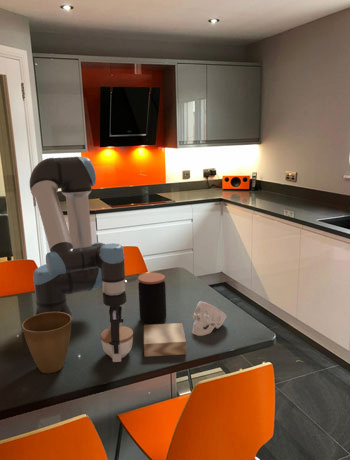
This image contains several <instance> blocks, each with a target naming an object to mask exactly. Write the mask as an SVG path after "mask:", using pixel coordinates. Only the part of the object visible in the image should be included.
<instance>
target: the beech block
mask: <svg viewBox="0 0 350 460" xmlns="http://www.w3.org/2000/svg"><path fill="white" fill-rule="evenodd" d="M143 353H144V357H147V358H148V357H160V356H161V357H162V356H178V355H179V356H180V355H187V340H186V335H185V330H184V326H183V323H182V322H177V323H176V322H175V323H160V324H155V325H148V324H144V325H143Z"/></svg>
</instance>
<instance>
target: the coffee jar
mask: <svg viewBox="0 0 350 460" xmlns="http://www.w3.org/2000/svg"><path fill="white" fill-rule="evenodd" d="M137 280H138V283H137V284H138V285H137V286H138V305H139V306H138V307H139V319H140V321H141V322H142V323H143V324H144V325H155V324H163V323H164V322H165V320H166V319H167V293H166V291H167V290H166V282H165V280H166V276H165V275H164V274H162V273H159V272H148V273H143V274H141V275H139V276H138V278H137Z"/></svg>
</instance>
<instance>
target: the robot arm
mask: <svg viewBox="0 0 350 460" xmlns="http://www.w3.org/2000/svg"><path fill="white" fill-rule="evenodd" d="M30 174H31V175H30V176H29V189H30V193H31V195H32V196H33V197H34V198H35V201H36V204H37V208H38V211H39V212H38V213H39V217H40V219H41V222H42V226H43V230H44V233H45V234H44V235H45V237H46V241H47V244H48V248H49V252H47V253H46V254H45V264H42V265H41V266H39V267H37V268H36V269H35V270H34V272H33V286H34V287H33V288H34V296H35V310H34V315H37V314H41V313H46V312H63V313H67V314H69V315H70V316H71V317H72V321H73V319H74V318H73V317H74V316H73V312H72V310H71V307H70V306H69V303H68V301H67V296H68V295H72V294H73V295H74V294H78V293H83V292H87V291H88V292H89V291H92V290H96V289H98V288H100V287H101V290H102V300H103V301H102V302H103V304H104V305H105V306H107V307H109V309H108V313H109V322H110V327H111V342H109V345H112V358H111V359H112V363H118V362H119V363H120V362H122V358H121V346H120V333H119V326H123V325H122V324H123V323H124V318H122V310H123V309H122V308H123V307H122V305H125V303H127V291H126V290H127V289H126V284H128V281H127V280H126V269H125V252H124V246H123V245H122V244H119V243H103V242H94V243H93V239H92V228H91V227H92V226H91V216H90V215H91V214H90V203H89V202H90V201H89V200H90V199H89V195H90V194H91V192H92V187H94V186H95V185H96V184H97V183H96V182H97V181H96V180H97V174H96V170H95V167H94V165H93V163H92V160H91V159H89V158H88V157H86V156H67V157H65V156H64V157H48V158H45V159H43V160H41V161H39V162H38V163H37V164H36V166H35V167H34V168H33V169H32V171H31V173H30ZM59 189H60V191H61V192H60V193H61V194H62V195H63V196H65V200H66V210H67V212H66V213H67V222H68V226H67V222H66V219H65V216H64V213H63V209H62V206H61V202H60V199H59V196H58V190H59ZM34 315H33V316H34Z"/></svg>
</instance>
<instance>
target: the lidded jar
mask: <svg viewBox="0 0 350 460" xmlns="http://www.w3.org/2000/svg"><path fill="white" fill-rule="evenodd" d="M119 333H120V346H121V359H123V358H125V357H126V356H128V354H129V352H131V349H132V347H133V343H134V342H133V341H134V331H133V329H132V328H130V327H129V326H124V325H122V326H119ZM100 340H101V345H102V346H101V347H102V350H103V351H104V353H105V355H108V357H110V358H111V359H113V358H112V345H109V342H111V326H110V327H108V328H106V329H103V331H102V332H101V334H100Z"/></svg>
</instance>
